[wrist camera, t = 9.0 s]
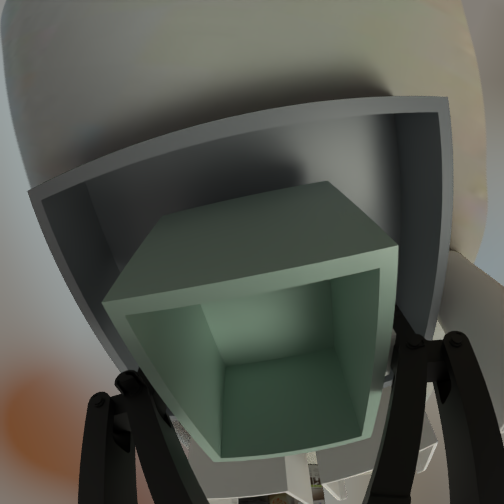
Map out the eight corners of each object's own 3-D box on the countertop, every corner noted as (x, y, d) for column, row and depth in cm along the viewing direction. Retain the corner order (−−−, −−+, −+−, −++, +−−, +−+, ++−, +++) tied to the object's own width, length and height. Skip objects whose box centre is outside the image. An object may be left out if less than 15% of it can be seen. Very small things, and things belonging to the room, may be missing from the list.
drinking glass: (396, 281, 22) (490, 431, 9) (451, 224, 20) (578, 340, 6) (429, 316, 24) (503, 438, 11) (475, 268, 22) (569, 372, 8)
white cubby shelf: (400, 359, 27) (438, 441, 17) (401, 404, 31) (425, 469, 22) (192, 419, 31) (183, 498, 21) (231, 451, 35) (230, 516, 25)
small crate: (162, 215, 15) (101, 302, 8) (327, 180, 15) (398, 245, 7) (220, 366, 21) (213, 462, 13) (340, 344, 20) (370, 437, 13)
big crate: (78, 167, 17) (27, 191, 12) (394, 97, 16) (447, 96, 10) (170, 370, 26) (158, 420, 21) (396, 328, 24) (421, 374, 19)
